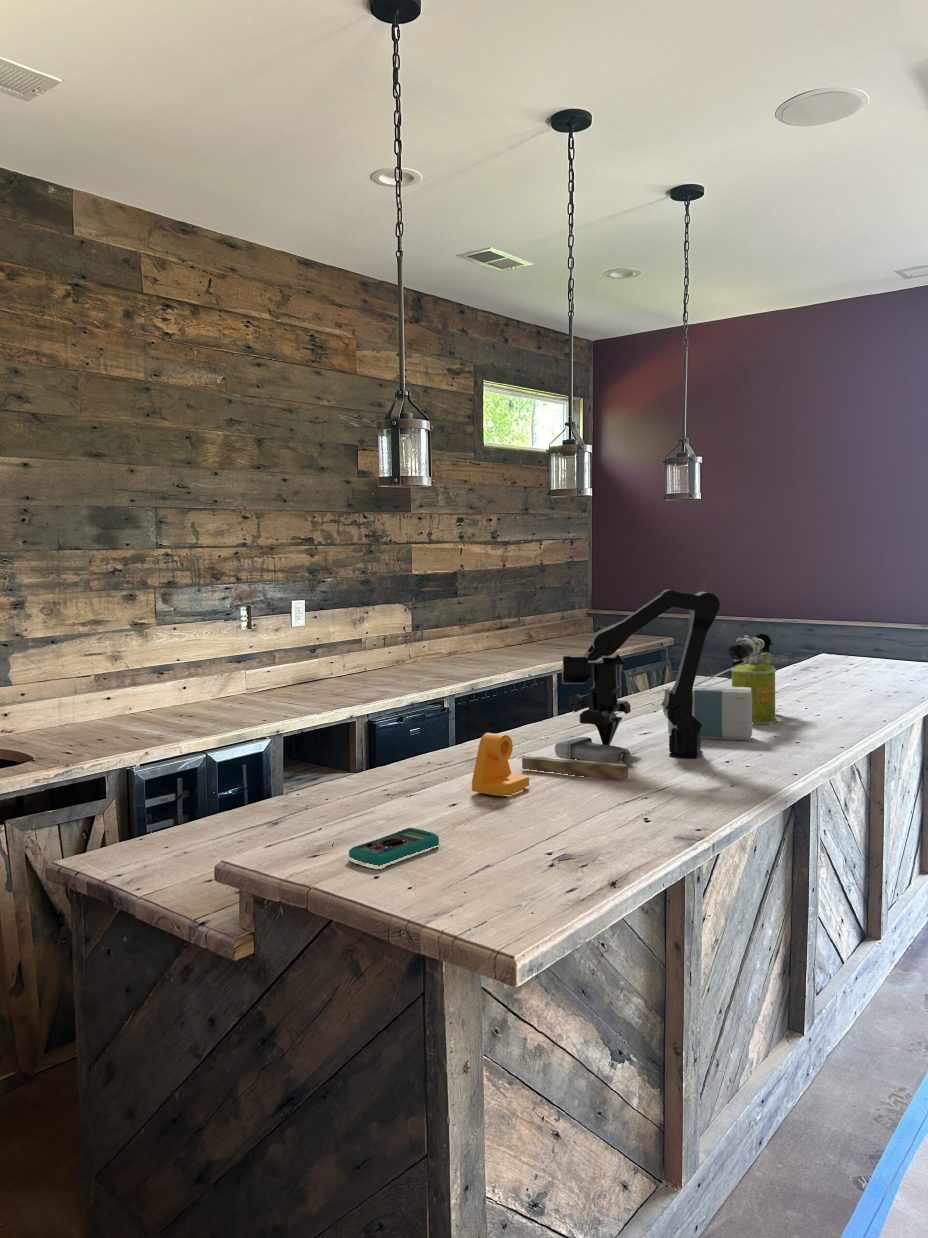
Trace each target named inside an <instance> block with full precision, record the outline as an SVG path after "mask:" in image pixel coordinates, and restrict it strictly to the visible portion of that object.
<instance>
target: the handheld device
mask: <svg viewBox="0 0 928 1238" xmlns="http://www.w3.org/2000/svg"><path fill="white" fill-rule="evenodd" d="M592 740H593V739H592V738H591V737H588V736H578V737H574V738H571V739H566V740H563V741H560V742H557V743H555V745H554V753H555V755H556V756H557V758H559V757H560V758H564V759H578V760H585V761H596V762H606V763H617V764H628V765H630V764H631V765H632V764H634V763H635V762H637V761H636V758H635V756H634V755H631V752H630V749H628V748H625V747H621V746H615V745H611V744H610V745H603V744H602V743H597V742H596V743H594V742H593V741H592Z"/></svg>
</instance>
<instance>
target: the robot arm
mask: <svg viewBox="0 0 928 1238" xmlns="http://www.w3.org/2000/svg"><path fill="white" fill-rule="evenodd" d="M720 602H721V601H720V600H719V598H718V597H717V595H716V594H714V593H713V592H712V593H711V592H707V591H699V592H697V593H694V594H693V593H686V592H679V591H675V590H672V589H665V590H663V591H662V592H660V594H659V595H657V596H655V597H654V598H652V599H651V600H650V601H648V602H647V603H645V604H644V605H642V607H640V608H639V609H637V610H635V611H634V612H632V614H630V615H628V616H627V617H626V618H624V619H622V620H621V621H619V622H616V623H614V624H612V625H611V624H610V625H609V626H607V627H605V628H602V629H600V630H598V631H597V632H595V634H593V636H592V638H591V645H590V647H588V650H587V651H585V653H584V655H568V654H567V655H563V656H562V667H561V679H562V681H561V683H562V684H563V685H571V684H574V685H575V684H579V685H581V684H583V685H584V684H587V681H589V680H592V684H593V685H592V687H590V689H589V691H588V692H589V693H588V694H585V695H581V694H579V693H577V694H574V695H571V696H570V698H569V699H570V700H569V704H568V707H570V708H571V709H572V710H573V712H574V714H575V713H578V712H579V711H581V710H583V711H582V712H581V713H580V714H579V715H578V716H579V724H585V725H587V724H588V725H594V726H595V727H596V728H597V731H598V734H599V737H600V740H601V744H603V745H610V746H611V743H612V740H613V738H614V736H615V735H616V732H617V730H618V727H619V725H620V724H621V721H622V719H623V717H621V716H618V714H617V713H616V712H619V713H621V712H623V713H624V714H625V715H627V714H629V713H631V703H630V702H629V701H628V700H618V698H619V697H618V693H619V692H621V686H618V665H622V666H623V665H626V661H625V660H624V659H622V658H621V656H620V654H619V653H616V652H617V651H618V649H620V648H621V647H622V646H623V645H624V644H625V642H627V640H628V639H629V638H630V637H631V636H632V635H633V634H634V633H636V632H638V631H639V630H640V629H642V628H643V627H644V626H646V625H647V624H649V623H651V622H652V621H653V620H654V619H656V618H658V617H659V616H661V615H662V614H663V613H665V612H666V611H668V610H669V609H671V608H673V607H675V608H678V609H679V608H680V609H684V610H689V611H688V612H689V613H688V616H689V617H688V619H689V620H688V621H689V626H688V627H689V628H688V632H687V637H686V640H685V644H684V648H683V652H682V656H681V659H680V664H679V669H678V671H677V675H676V680H675V683H674V685H672V686H673V688H672V690H671V691H669V689H667V688H666V689H665V690H664V698H663V699H662V700H663V701H661V703H660V705H661V707H663V708H662V711H663V714H664V716H665V718H666V719H667V721H668V720H669V721H670V722H671V723H672V724H673V726H674V727H675V728H673V729H671V735H670V734H669V737H668V745H669V747H668V748H669V749H668V750H669V756H670V757H678V758H679V757H680V758H689V759H697V758H698V757H699V756H701V755H702V754H703V753H704V752H703V750H702V749H701V743H702V742H701V739H702V738H701V736H700V728H701V726H702V724H701V723H700V722H699V721H698V720H697V719H696V718H695V717H693V716H692V707H693V693H692V689H693V685H695V684H694V683H695V680H696V677H697V672H698V668H699V664H700V660H701V657H702V653H703V649H704V645H705V641H706V637H707V633H708V632H709V629H710V628H711V626H712V625H713V623H714V621H715V620H716V617H717V615H718V613H719V610H720V607H721V603H720ZM615 653H616V654H615ZM613 654H615V656H612V655H613ZM600 659H601V660H600ZM591 666H592V667H591ZM591 668H592V670H591ZM591 673H592V674H591ZM591 678H592V679H591ZM587 708H588V709H587ZM584 709H586V710H584Z"/></svg>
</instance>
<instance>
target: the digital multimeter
mask: <svg viewBox="0 0 928 1238" xmlns="http://www.w3.org/2000/svg"><path fill="white" fill-rule="evenodd" d="M439 838H440V837H439V835H437V834H436V833H433V832H430V831H427V830H424V829H419V828H415V827H406V828H404V829H402V830H398V831H396V832H394V833H391V834H388V835H386V836H383V837H380V838H377V839H375V840H374V839H373V840H371V841H368V842H365V843H362V844H359V845H355V846H353V847H352V848H350V849H348V858H349V857H351V858H353V859H355V860H358V861H361V862H364V863H369V864H373V865H378V866H380V865H383V864H386V863H389V862H391V861H394V860H397V859H399V858H402V857H404V856H407V855H411V854H414V853H416V852H420V851H422V850H425V849H428V848H431V847H434V846H437V845H439V846H440V839H439ZM403 840H404V841H403Z"/></svg>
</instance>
